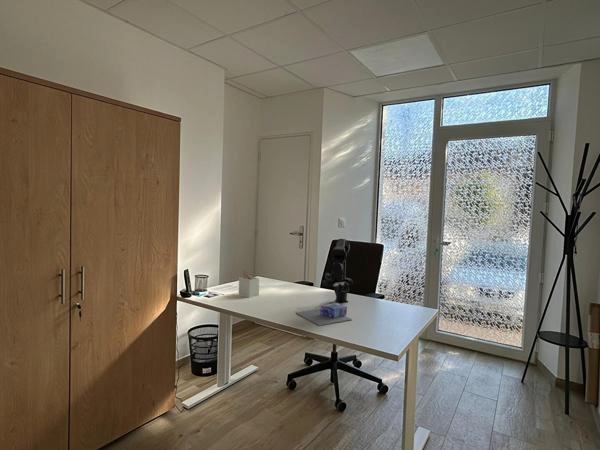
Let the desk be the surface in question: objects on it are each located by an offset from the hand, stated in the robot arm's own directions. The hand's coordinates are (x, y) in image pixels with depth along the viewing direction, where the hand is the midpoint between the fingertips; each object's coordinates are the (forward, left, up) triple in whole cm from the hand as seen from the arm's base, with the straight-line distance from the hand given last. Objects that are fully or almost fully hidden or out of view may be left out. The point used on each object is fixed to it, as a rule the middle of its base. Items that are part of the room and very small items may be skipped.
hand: (337, 296), depth 206 cm
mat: (+9, 0, -10) cm, 14 cm away
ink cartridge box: (-3, 0, -7) cm, 8 cm away
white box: (+29, -62, -11) cm, 69 cm away
